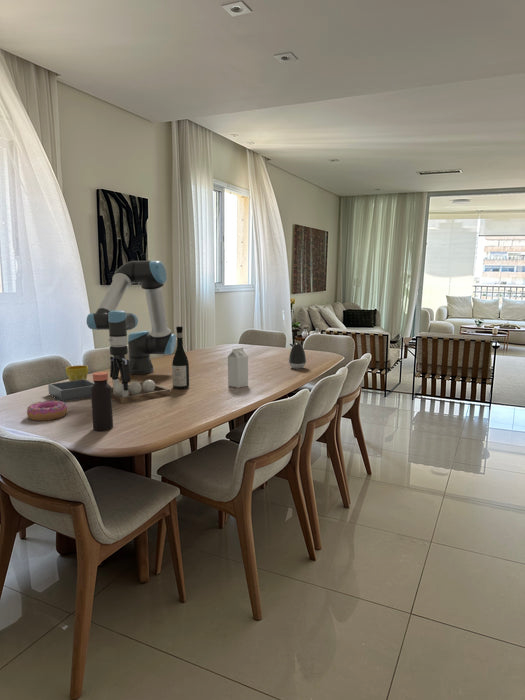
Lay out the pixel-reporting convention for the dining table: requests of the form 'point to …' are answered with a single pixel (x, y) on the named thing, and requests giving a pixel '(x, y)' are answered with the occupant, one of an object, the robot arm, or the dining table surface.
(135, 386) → the pebble
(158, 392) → the tray
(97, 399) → the vinegar
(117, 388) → the off-white glossy ball
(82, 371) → the plant pot
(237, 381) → the milk carton
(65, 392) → the grey shallow box
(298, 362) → the pump dispenser
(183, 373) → the wine bottle
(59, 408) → the donut
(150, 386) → the pebble
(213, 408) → the dining table surface
